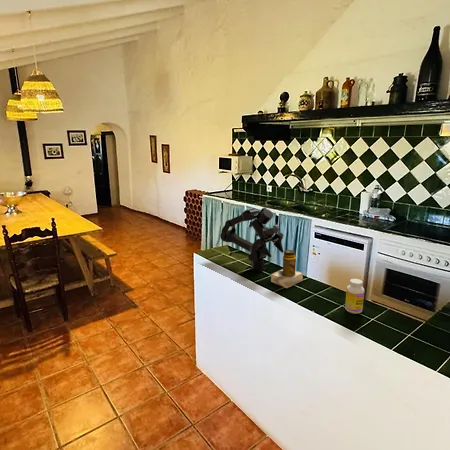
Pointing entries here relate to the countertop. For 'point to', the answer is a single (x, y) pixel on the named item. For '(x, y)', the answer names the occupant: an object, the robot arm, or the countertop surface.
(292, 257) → the condiment
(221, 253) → the countertop surface
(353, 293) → the supplement bottle
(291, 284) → the wooden block
